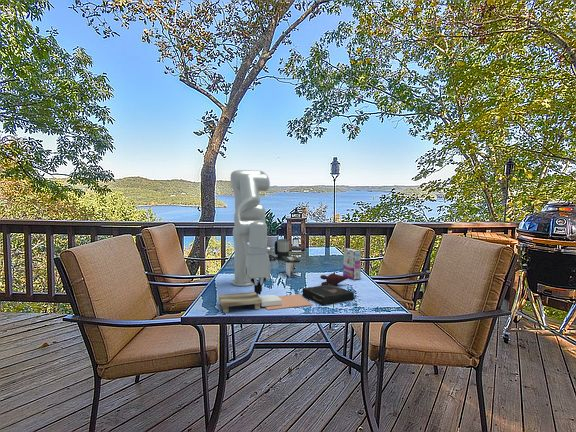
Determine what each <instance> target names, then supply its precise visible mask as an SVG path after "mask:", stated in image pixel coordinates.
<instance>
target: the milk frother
mask: <svg viewBox="0 0 576 432" xmlns="http://www.w3.org/2000/svg"><path fill="white" fill-rule="evenodd" d="M268 255H269V260H270V261H275V260H276V259H277V260H278V261H284V260H283V259H282V256H290V239H287V238H278V239H277V240H276V241H274V255H272V254H268ZM275 255H277V256H275Z"/></svg>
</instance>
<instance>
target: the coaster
mask: <svg viewBox="0 0 576 432" xmlns="http://www.w3.org/2000/svg"><path fill="white" fill-rule="evenodd" d="M258 296H259V297H260V298H261V300H262V303H260V307H264V306H274V305H282V299H280V298H279V297H278V296H279V295H277V294H267V295H264V294H263V295H258Z"/></svg>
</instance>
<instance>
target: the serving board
mask: <svg viewBox="0 0 576 432" xmlns="http://www.w3.org/2000/svg"><path fill="white" fill-rule="evenodd" d="M259 296H260V295H259V294H258V295H257V294H256V292H254V291H249V292H237V293H236V292H235V293H225V294H218V296H217V298H218V300H219V305H220V306H221V307H222V313H223V314H224V313H225V314H226V313H229V307H235V306H237V307H239V306H247V305H253V306H254V307H253V308H254V310H260V309H261V305H260V303H262V300H261V298H260V297H259Z"/></svg>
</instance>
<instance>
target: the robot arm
mask: <svg viewBox="0 0 576 432" xmlns="http://www.w3.org/2000/svg"><path fill="white" fill-rule="evenodd" d="M270 183H271V182H270V178H269V175H268V174H267V173H266V172H264V171H262V170H251V169H250V170H249V169H248V170H247V169H239V170H238V169H237V170H234V171H232V172H231V173H230V184H231V188H232V190H233V194H234V214H233V216H234V217H233V218H234V219H233V224H234V227H233V229H232V238H233V246H234V254H233V255H234V257H233V258H234V263H233V264H234V265H233V266H234V269H233V270H234V279H233V280H231V284H232V285H233V286H237V287H247V286H253V289H254V290H253V292H255V293H256V294H257V295H258V296H259V295H261V294H262V292H263V284H264V283H265V282H266V281H269V280H271V277H272V276H271V262H270V261H271V260H269V255H270V254H269V253H268V252H270V251H271V247H268V224H267V223H266V209H265V206H264V205H263V204H261V203H260V202H261V199H260V197H261V196H260V192H267V191H268V190H269V189H270V185H271V184H270Z"/></svg>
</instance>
